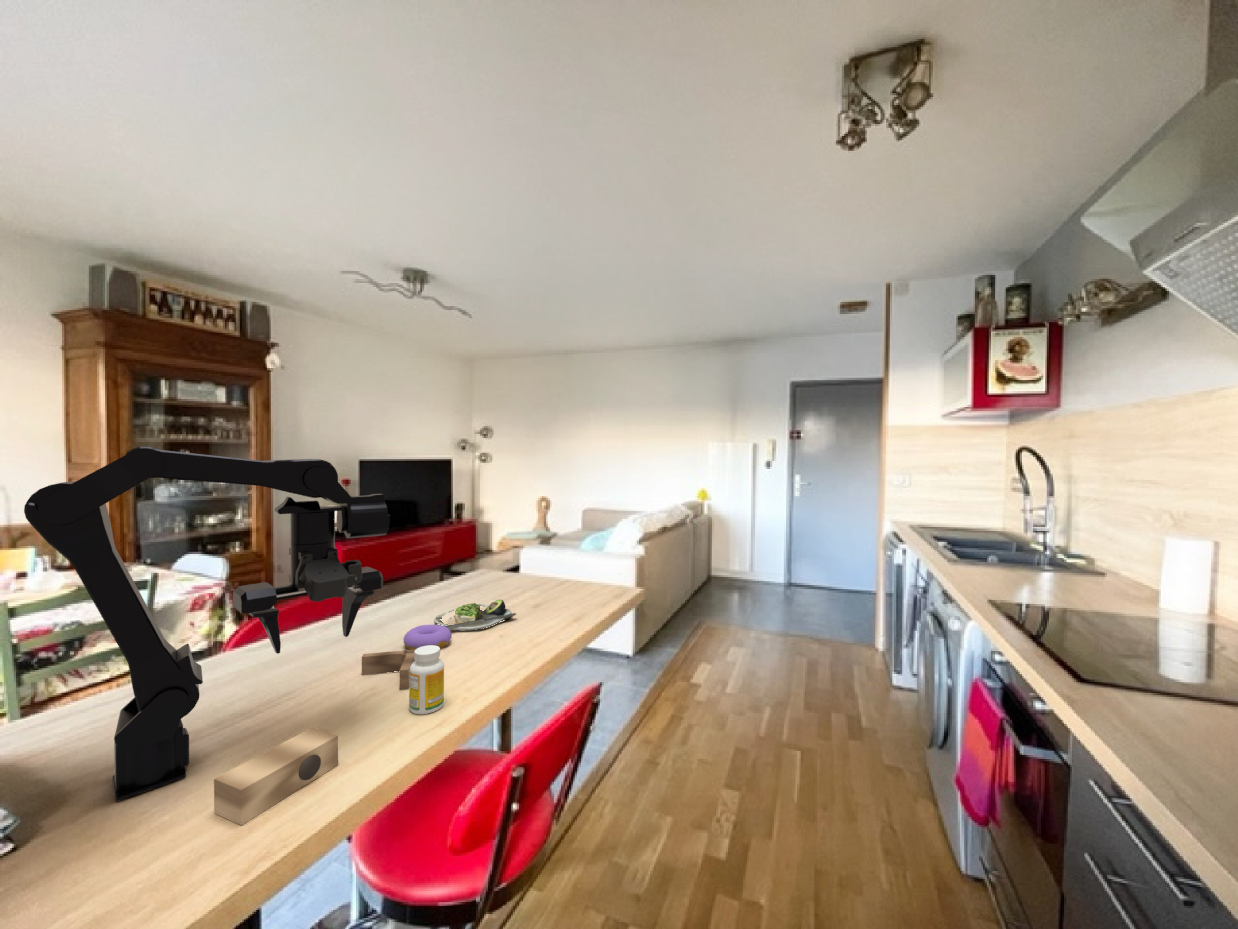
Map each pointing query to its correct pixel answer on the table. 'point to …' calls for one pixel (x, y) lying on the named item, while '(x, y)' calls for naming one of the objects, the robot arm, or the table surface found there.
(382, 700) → the table surface
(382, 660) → the v block
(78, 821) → the table surface
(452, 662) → the table surface
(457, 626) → the salad plate
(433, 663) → the supplement bottle
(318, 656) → the table surface
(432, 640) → the donut
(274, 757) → the beam
